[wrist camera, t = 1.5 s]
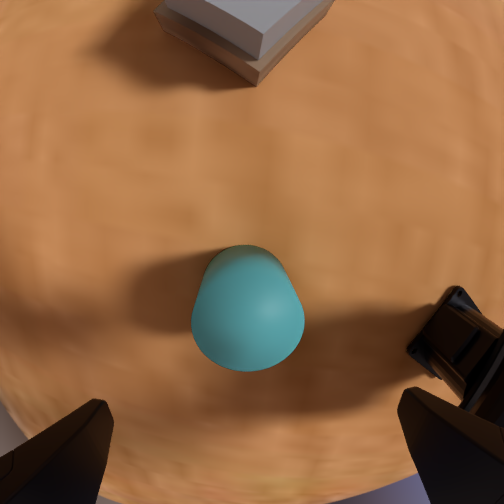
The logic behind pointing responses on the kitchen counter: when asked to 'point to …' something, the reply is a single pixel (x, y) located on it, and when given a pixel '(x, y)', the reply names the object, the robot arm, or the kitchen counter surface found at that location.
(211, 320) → the teal domed cylinder
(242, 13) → the tower top
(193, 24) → the tower base
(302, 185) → the kitchen counter surface
